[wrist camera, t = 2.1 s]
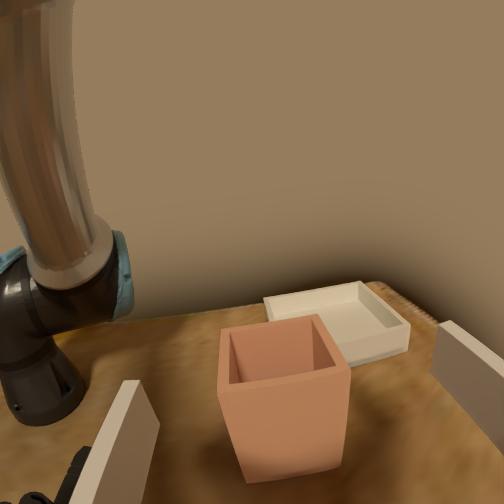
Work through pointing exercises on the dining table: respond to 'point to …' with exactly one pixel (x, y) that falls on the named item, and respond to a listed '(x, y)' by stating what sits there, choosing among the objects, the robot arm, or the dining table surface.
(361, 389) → the dining table surface
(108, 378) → the dining table surface
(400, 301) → the dining table surface
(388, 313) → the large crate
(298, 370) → the box
